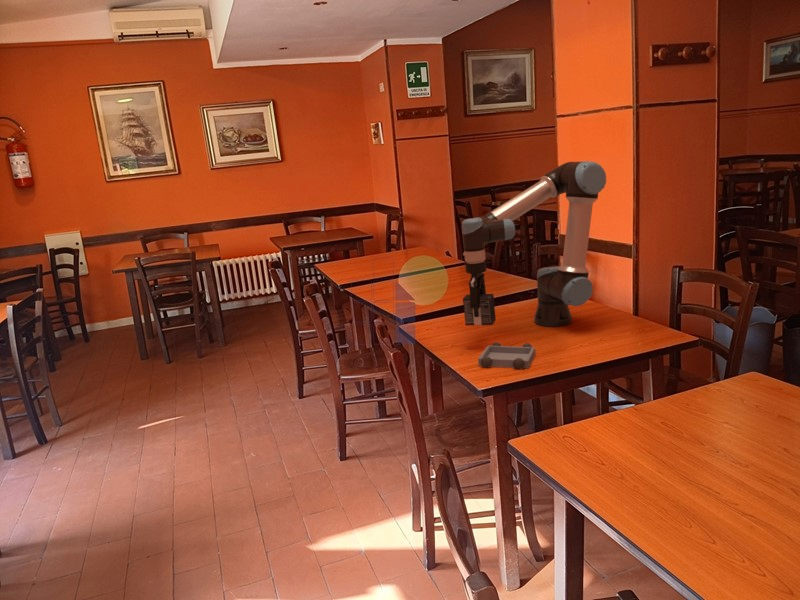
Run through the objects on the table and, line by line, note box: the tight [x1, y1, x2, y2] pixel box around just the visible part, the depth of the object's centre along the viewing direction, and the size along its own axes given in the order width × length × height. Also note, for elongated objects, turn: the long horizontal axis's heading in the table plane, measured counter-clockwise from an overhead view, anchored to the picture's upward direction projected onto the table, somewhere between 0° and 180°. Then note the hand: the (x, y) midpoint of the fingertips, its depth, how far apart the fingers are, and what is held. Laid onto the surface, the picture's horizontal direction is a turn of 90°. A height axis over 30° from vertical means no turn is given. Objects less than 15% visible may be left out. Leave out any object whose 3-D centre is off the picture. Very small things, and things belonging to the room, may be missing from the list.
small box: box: [462, 293, 497, 326], centre depth 222 cm, size 11×6×10 cm, turn 70°
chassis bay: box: [477, 341, 536, 371], centre depth 209 cm, size 17×17×4 cm
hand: (480, 321), depth 224 cm, fingers closed on small box, 6 cm apart
